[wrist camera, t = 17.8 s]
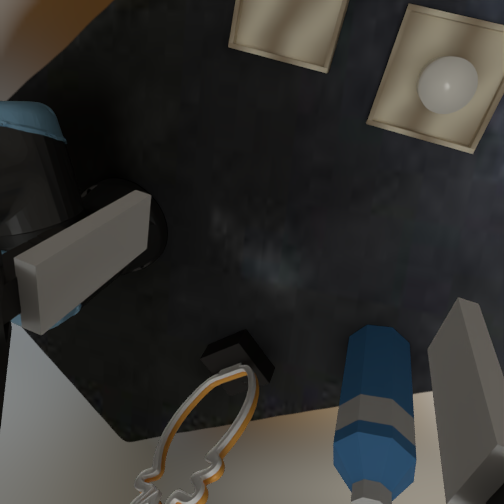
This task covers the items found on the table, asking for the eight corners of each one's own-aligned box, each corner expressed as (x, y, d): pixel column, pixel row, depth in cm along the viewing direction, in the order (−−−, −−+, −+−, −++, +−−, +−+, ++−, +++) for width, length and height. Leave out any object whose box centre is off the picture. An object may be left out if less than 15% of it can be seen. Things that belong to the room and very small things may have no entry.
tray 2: (367, 121, 47) (366, 123, 46) (408, 4, 41) (408, 3, 40) (470, 150, 45) (472, 154, 44) (529, 32, 39) (534, 32, 38)
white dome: (408, 99, 44) (410, 106, 39) (428, 50, 42) (432, 50, 37) (454, 111, 43) (462, 120, 38) (476, 62, 41) (488, 64, 36)
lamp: (220, 386, 75) (124, 576, 48) (192, 351, 73) (76, 528, 46) (294, 361, 67) (227, 573, 40) (264, 321, 65) (174, 514, 38)
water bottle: (362, 314, 59) (345, 464, 38) (423, 340, 58) (441, 511, 36) (337, 356, 64) (310, 511, 42) (393, 382, 63) (393, 554, 41)
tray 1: (232, 47, 48) (228, 47, 47) (253, -79, 42) (249, -83, 41) (328, 72, 46) (326, 73, 45) (365, -55, 40) (364, -59, 39)
